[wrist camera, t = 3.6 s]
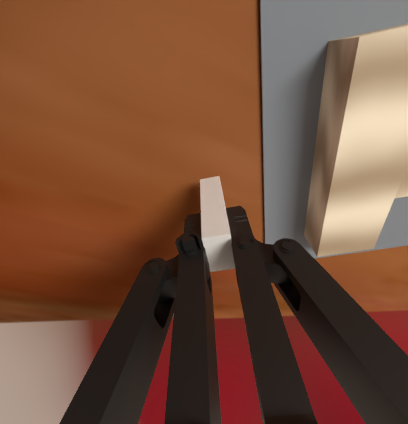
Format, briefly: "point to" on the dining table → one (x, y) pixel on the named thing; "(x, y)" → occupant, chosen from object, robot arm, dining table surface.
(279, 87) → the push mat
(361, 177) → the t block
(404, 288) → the dining table surface
